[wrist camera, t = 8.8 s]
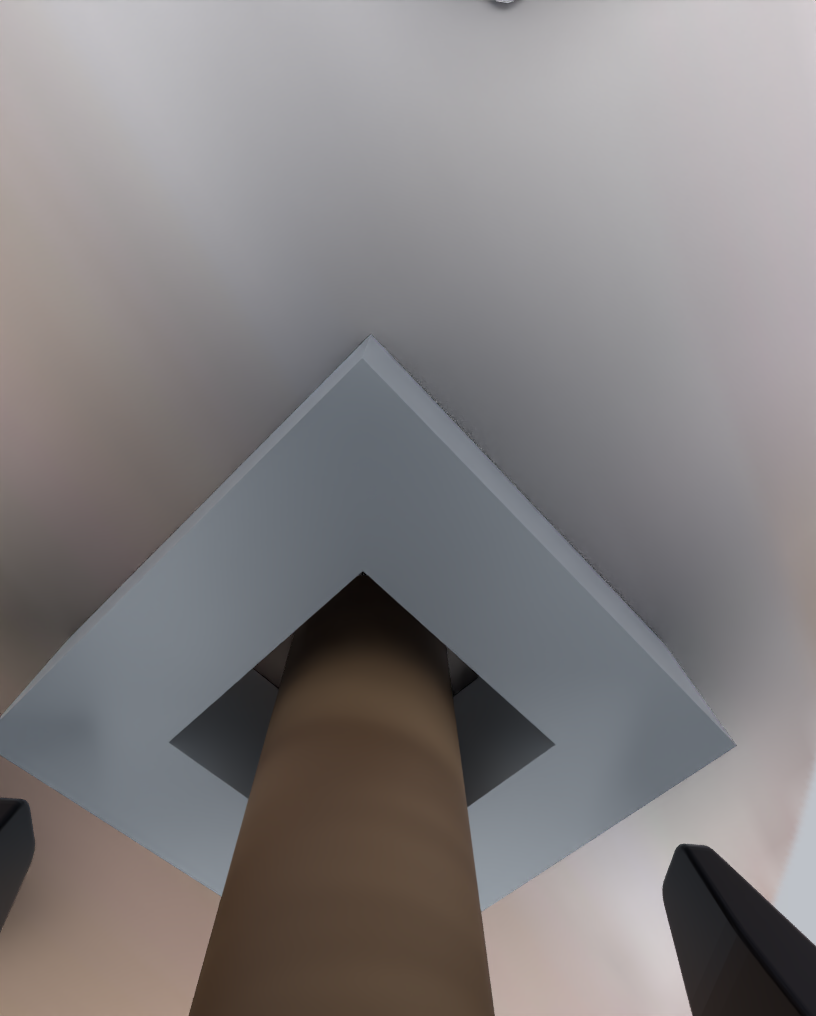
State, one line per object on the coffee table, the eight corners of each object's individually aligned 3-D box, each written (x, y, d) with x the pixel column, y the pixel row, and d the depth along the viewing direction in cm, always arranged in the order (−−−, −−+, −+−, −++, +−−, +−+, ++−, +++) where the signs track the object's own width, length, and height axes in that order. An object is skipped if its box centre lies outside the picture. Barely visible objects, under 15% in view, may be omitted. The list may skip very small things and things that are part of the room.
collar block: (369, 857, 16) (364, 988, 13) (68, 639, 13) (-22, 741, 10) (665, 645, 13) (736, 745, 11) (371, 333, 11) (362, 357, 8)
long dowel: (370, 726, 14) (331, 1410, 6) (263, 641, 13) (32, 1299, 5) (475, 643, 13) (612, 1290, 5) (370, 545, 12) (317, 1131, 4)
